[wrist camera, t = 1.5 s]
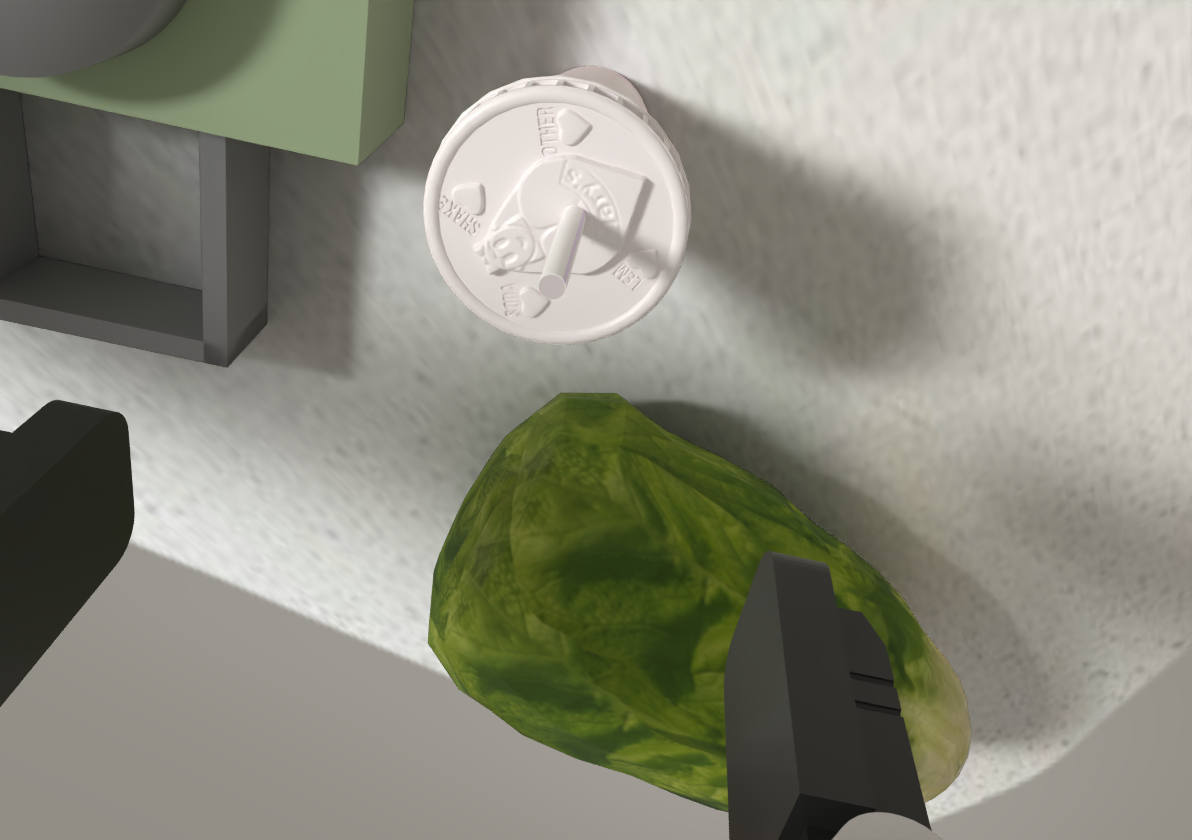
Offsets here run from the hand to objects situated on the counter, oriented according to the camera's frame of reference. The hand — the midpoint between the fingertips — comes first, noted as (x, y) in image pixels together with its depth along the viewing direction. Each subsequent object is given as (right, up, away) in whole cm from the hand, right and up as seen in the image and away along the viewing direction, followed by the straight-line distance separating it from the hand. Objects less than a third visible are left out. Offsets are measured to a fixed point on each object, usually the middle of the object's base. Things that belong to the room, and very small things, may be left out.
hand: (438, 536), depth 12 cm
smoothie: (+2, +11, +19) cm, 22 cm away
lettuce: (+7, -3, +27) cm, 28 cm away
